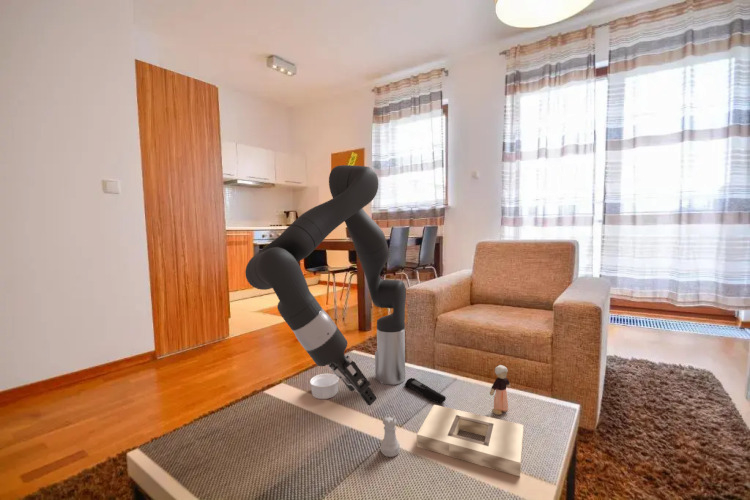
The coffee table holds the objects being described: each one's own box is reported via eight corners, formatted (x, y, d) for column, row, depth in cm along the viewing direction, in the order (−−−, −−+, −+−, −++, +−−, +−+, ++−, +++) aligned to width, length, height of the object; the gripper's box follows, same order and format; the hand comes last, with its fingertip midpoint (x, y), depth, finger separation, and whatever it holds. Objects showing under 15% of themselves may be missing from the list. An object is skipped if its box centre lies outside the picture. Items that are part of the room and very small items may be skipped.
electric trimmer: (439, 409, 94) (439, 398, 94) (403, 387, 107) (403, 377, 107) (448, 404, 96) (448, 394, 96) (412, 383, 109) (412, 374, 109)
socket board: (416, 446, 78) (416, 434, 78) (434, 415, 90) (434, 404, 90) (520, 476, 68) (520, 462, 68) (523, 436, 81) (523, 424, 80)
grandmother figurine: (500, 418, 88) (501, 372, 87) (487, 412, 91) (487, 367, 90) (514, 407, 93) (515, 363, 92) (501, 402, 96) (502, 359, 95)
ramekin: (304, 397, 101) (304, 383, 101) (320, 384, 109) (319, 371, 109) (330, 403, 98) (329, 388, 97) (344, 389, 106) (344, 375, 106)
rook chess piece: (404, 450, 77) (403, 417, 76) (391, 461, 73) (390, 426, 73) (389, 442, 80) (388, 409, 79) (376, 451, 76) (375, 418, 76)
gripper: (348, 329, 62) (392, 392, 66) (322, 318, 74) (361, 372, 78) (316, 357, 59) (365, 422, 63) (295, 341, 71) (337, 396, 75)
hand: (363, 394), depth 70 cm, fingers open, 8 cm apart
